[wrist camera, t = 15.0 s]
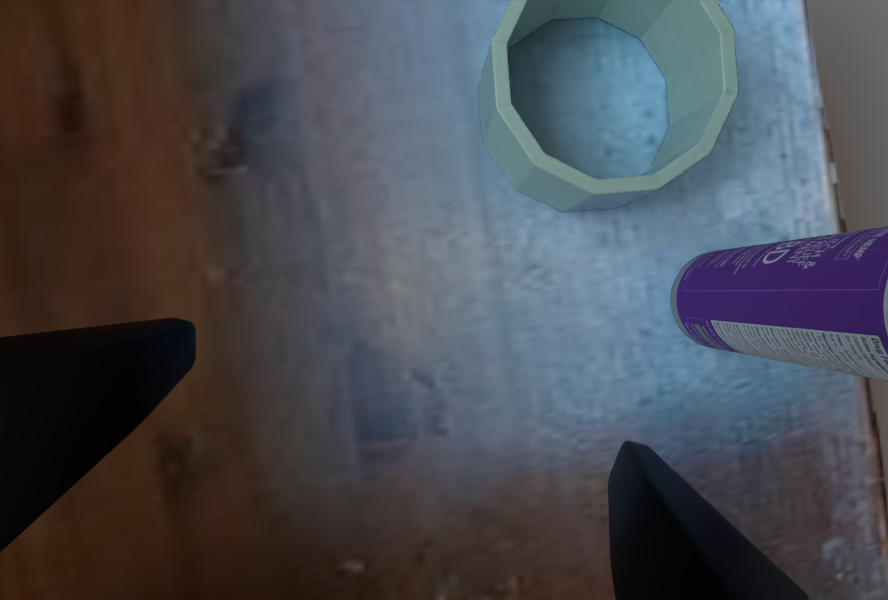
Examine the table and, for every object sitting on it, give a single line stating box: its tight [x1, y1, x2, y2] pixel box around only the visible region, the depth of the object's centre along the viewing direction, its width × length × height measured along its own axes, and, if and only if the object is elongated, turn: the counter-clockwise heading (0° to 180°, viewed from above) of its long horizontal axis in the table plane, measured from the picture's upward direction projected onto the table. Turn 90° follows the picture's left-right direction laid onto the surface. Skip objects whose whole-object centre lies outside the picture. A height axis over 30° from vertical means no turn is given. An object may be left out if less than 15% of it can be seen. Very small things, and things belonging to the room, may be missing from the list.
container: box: [671, 227, 888, 381], centre depth 15 cm, size 5×5×15 cm
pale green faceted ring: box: [478, 0, 738, 212], centre depth 20 cm, size 10×10×4 cm
